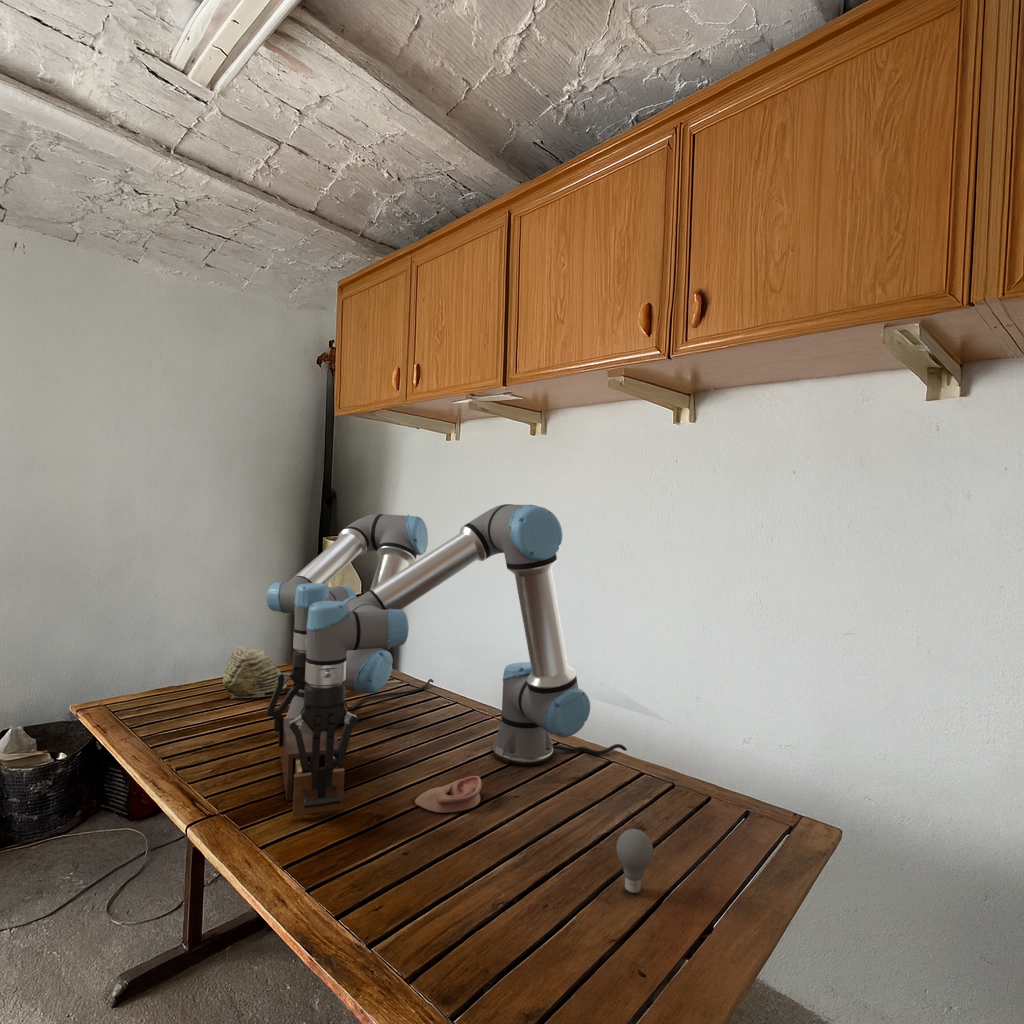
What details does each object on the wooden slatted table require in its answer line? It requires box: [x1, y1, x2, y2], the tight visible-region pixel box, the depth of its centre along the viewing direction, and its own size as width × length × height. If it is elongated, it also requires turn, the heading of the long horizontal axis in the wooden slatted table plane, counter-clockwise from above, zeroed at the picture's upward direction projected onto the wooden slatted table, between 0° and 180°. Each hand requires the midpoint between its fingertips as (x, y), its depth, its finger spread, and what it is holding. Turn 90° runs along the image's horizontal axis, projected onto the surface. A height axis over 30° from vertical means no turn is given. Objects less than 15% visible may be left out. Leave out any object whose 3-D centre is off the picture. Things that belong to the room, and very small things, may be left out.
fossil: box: [222, 646, 288, 699], centre depth 198 cm, size 9×18×15 cm, turn 132°
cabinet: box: [280, 718, 342, 801], centre depth 143 cm, size 22×11×10 cm, turn 23°
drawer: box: [292, 754, 345, 817], centre depth 132 cm, size 26×10×8 cm, turn 23°
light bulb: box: [615, 828, 654, 894], centre depth 106 cm, size 6×6×10 cm
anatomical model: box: [414, 775, 483, 814], centre depth 134 cm, size 13×4×12 cm
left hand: (306, 742), depth 150 cm, fingers closed on cabinet, 11 cm apart
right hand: (320, 803), depth 122 cm, fingers closed
